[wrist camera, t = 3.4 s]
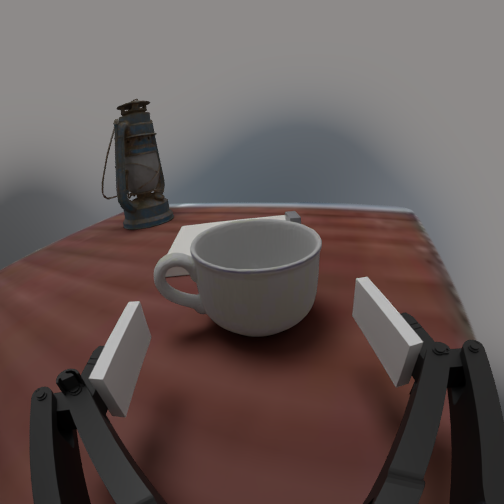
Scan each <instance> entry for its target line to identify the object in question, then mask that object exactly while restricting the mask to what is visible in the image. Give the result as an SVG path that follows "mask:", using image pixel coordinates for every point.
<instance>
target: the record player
mask: <svg viewBox="0 0 504 504" xmlns="http://www.w3.org/2000/svg"><path fill="white" fill-rule="evenodd" d="M251 219H278V220H286V221H291V222H296V223H299V224H301V217H300V216H299V215H298V214H297V213H296V212H295V211H292V212H285V215H282V216H272V217H261V218H251ZM242 220H248V219H242ZM232 221H238V220H232ZM232 221H223V222H214V223H205V224H197V225H189V226H182V228H181V230H180V232H179V233H178V235H177V237H176V239H175V241H174V243H173V245H172V246H171V248H170V250H169V252H168V254H171V253H183V254H186V255H189V256H191V253H190V247H191V243H192V241H193V240H194V238H195V237H196V236H197V235H199V234H200V233H202V232H203V231H205V230H207V229H209V228H211V227H214V226H217V225H220V224H224V223H228V222H232ZM180 275H190V274H189V273H188V271H187V270H186V269H184V268H182V267H172V268H170V269H168V271H167V272H166V275H165V277H170V276H180Z"/></svg>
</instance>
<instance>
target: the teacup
mask: <svg viewBox="0 0 504 504" xmlns="http://www.w3.org/2000/svg"><path fill="white" fill-rule="evenodd" d="M321 245H322V241H321V239H320V236H319V235H318V234H317V233H316V231H315V230H313V229H311V228H309V227H307V226H305V225H302V224H299V223H296V222H291V221H286V220H278V219H248V220H238V221H232V222H228V223H224V224H220V225H217V226H214V227H211V228H209V229H207V230H205V231H203V232H202V233H200V234H199V235H197V236H196V237H195V238H194V240H193V241H192V243H191V247H190V253H191V256H189V255H186V254H183V253H171V254H167V255H165V256H164V257H162V258H161V259H160V260H159V261H158V263H157V265H156V267H155V270H154V282H155V285H156V287H157V289H158V291H159V292H160V293H161V294H162V295H163V296H164V297H165V298H166V299H168V300H170V301H171V302H174V303H176V304H179V305H182V306H186V307H190V308H193V309H195V310H196V311H197V312H198V313H200V314H208V316H209V317H210V318H211V319H212V320H213V321H214V322H215V323H216V324H218V325H219V326H221V327H222V328H224V329H226V330H229V331H231V332H234V333H238V334H241V335H245V336H252V337H262V336H269V335H273V334H277V333H279V332H282V331H284V330H287V329H289V328H291V327H293V326H294V325H296V324H297V323H299V322H300V321H301V320H302V319H303V318H304V317H305V316H306V315H307V314H308V312H309V311H310V309H311V308H312V305H313V303H314V300H315V296H316V291H317V283H318V272H319V253H320V250H321ZM172 267H182V268H184V269H186V270H187V271H188V273H189V274H190V276H191V279H192V280H193V281H194V282H196V283H197V287H198V291H199V294H198V295H193V294H188V293H184V292H181V291H178V290H176V289H174V288H173V287H171V286H170V285H169V284H168V283H167V282H166V279H165V275H166V272H167V271H168V269H170V268H172Z"/></svg>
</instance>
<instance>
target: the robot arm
mask: <svg viewBox="0 0 504 504" xmlns="http://www.w3.org/2000/svg"><path fill="white" fill-rule="evenodd" d="M352 316H353V318H354V319H355V321H356V322H357V324H358V326H359V327H360V329H361V330H362V332H363V334H364V335H365V337H366V338H367V340H368V342H369V343H370V345H371V347H372V348H373V350H374V352H375V353H376V355H377V356H378V358H379V360H380V361H381V363H382V365H383V366H384V368H385V370H386V372H387V373H388V375H389V377H390V378H391V380H392V382H393V384H394V385H395V387H399V386H402V385H405V384H408V383H409V381H410V378H411V376H413V378H414V379H415V382H414V385H413V387H412V389H411V392H410V398H409V401H408V404H407V407H406V410H405V413H404V416H403V419H402V421H401V424H400V427H399V430H398V432H397V435H396V437H395V440H394V442H393V445H392V447H391V450H390V452H389V454H388V456H387V459H386V461H385V463H384V465H383V468H382V470H381V472H380V474H379V476H378V478H377V480H376V482H375V484H374V486H373V488H372V490H371V492H370V493H369V495H368V497H367V498H366V500H365V501H364V503H363V504H418V502H419V500H420V497H421V495H422V492H423V489H424V486H425V481H424V480H423V479H424V475H425V472H426V469H427V466H428V463H429V460H430V457H431V454H432V450H433V447H434V443H435V440H436V436H437V432H438V428H439V424H440V419H441V415H442V410H443V405H444V400H445V395H446V389H447V390H448V398H449V409H450V422H451V443H452V469H451V490H450V504H504V421H503V416H502V411H501V406H500V402H499V397H498V393H497V389H496V385H495V382H494V378H493V374H492V371H491V368H490V364H489V361H488V358H487V355H486V352H485V349H484V347H483V345H482V344H481V343H480V342H478V341H476V340H467V341H466V342H465V343H464V344H463V347H462V348H461V349H450V348H449V346H447V345H446V344H444V343H441V342H434V340H433V339H432V338H431V337H430V336H429V335H428V333H427V332H426V331H425V330H424V329H423V328H422V326H421V325H420V324H419V323H418V322H417V321H416V320H415V319H414V317H412V316H411V315H409V314H407V313H401V314H399V312H398V311H397V310H396V309H395V308H394V307H393V305H392V304H391V303H390V302H389V301H388V300H387V299H386V297H385V296H384V295H383V294H382V293H381V292H380V291H379V290H378V288H377V287H376V286H375V285H374V284H373V283H372V282H371V281H370V280H369V278H368V277H363V278H356V285H355V296H354V305H353V314H352ZM150 340H151V335H150V332H149V329H148V326H147V323H146V320H145V316H144V313H143V310H142V307H141V304H140V301H138V302H128V304H127V306H126V308H125V310H124V311H123V313H122V315H121V317H120V319H119V320H118V322H117V324H116V326H115V328H114V330H113V332H112V333H111V335H110V337H109V339H108V341H107V343H106V345H105V346H99V347H98V348H97V349H96V350H94V351H93V353H92V355H91V357H90V359H89V361H88V362H87V365H86V366H85V368H84V370H83V372H82V374H81V375H80V374H79V372H78V371H77V370H75V369H67V370H64V371H63V372H61V373H60V374H59V375H58V377H57V379H56V384H57V385H58V387H59V388H60V390H61V391H62V392H60V393H53V392H52V391H51V389H50V388H48V387H41V388H38V389H37V390H36V391H35V392H34V393H33V395H32V398H31V412H30V469H31V482H32V492H33V500H34V504H91V503H90V499H89V495H88V491H87V487H86V482H85V478H84V473H83V468H82V463H81V457H80V451H79V445H78V438H77V430H78V432H79V434H80V437H81V439H82V441H83V443H84V446H85V448H86V450H87V452H88V454H89V456H90V458H91V460H92V462H93V464H94V466H95V468H96V470H97V472H98V473H99V475H100V477H101V479H102V481H103V482H104V484H105V486H106V488H107V489H108V491H109V493H110V494H111V496H112V498H113V499H114V501H115V502H116V504H167V503H166V502H165V500H164V499H163V498H162V497H161V495H160V494H159V493H158V492H157V491H156V489H155V488H154V487H153V485H152V484H151V483H150V482H149V480H148V479H147V478H146V476H145V475H144V473H143V472H142V471H141V469H140V468H139V467H138V465H137V464H136V462H135V461H134V459H133V458H132V456H131V455H130V453H129V452H128V450H127V449H126V447H125V446H124V444H123V443H122V441H121V439H120V438H119V436H118V434H117V433H116V431H115V429H114V428H113V426H112V424H111V423H110V421H109V419H108V417H107V416H106V412H107V410H109V412H110V413H111V415H112V416H118V417H126V415H127V411H128V408H129V404H130V401H131V398H132V395H133V391H134V388H135V385H136V382H137V379H138V376H139V372H140V369H141V366H142V363H143V360H144V357H145V354H146V352H147V349H148V346H149V343H150ZM76 429H77V430H76Z"/></svg>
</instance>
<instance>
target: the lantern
mask: <svg viewBox="0 0 504 504" xmlns="http://www.w3.org/2000/svg"><path fill="white" fill-rule="evenodd" d="M135 100H136V101H134V100H133V101H131V102H129V103H126V104H123V105H121V106H119V107H117V109H118V110H121V115H122V117H120V118H119V120H118V119H115V120H114V123H113V124H114V129H113V133H112V137H111V140H110V144H109V148H108V152H107V156H106V162H105V167H104V173H103V179H102V193H103V181H104V174H105V169H106V163H107V158H108V153H109V150H110V146H111V142H112V138H113V134H114V130H115V138H114V139H115V163H116V166H115V168H116V188H117V196H114V197H109V198H107V197H106V196H105V195H104V194H103V196H104V198H106V199H111V198H115V197H118V202H119V203H120V205H121V207H122V208H123V209H124V214H125V220H124V222H123V224H124V228H126V229H142V228H148V227H152V226H156V225H160V224H162V223H165V222H168V221H169V220H171V219H173V217H174V215H173V212H172V211H171V210H170V209H169V204H168V199H166V198H164V195H162V194H163V192H164V186H165V184H164V177H163V172H162V167H161V163H160V158H159V153H158V149H157V144H156V139H155V135H156V133H154V129H153V123H152V120H150V113H149V112H145V111H146V110H147V109H146V105H148V104H149V103H150V102H148V101H138V99H135ZM140 107H142V108H140ZM125 110H128V111H125ZM154 189H155V190H154ZM129 191H130V192H131V193H130V194H129ZM152 191H154V193H151V192H152ZM127 194H128V197H127ZM129 195H130V197H131V196H132V195H133V196H135V195H137V198H136V199H134V200H133V201H131V200H129V199H128V198H130V197H129Z"/></svg>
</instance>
